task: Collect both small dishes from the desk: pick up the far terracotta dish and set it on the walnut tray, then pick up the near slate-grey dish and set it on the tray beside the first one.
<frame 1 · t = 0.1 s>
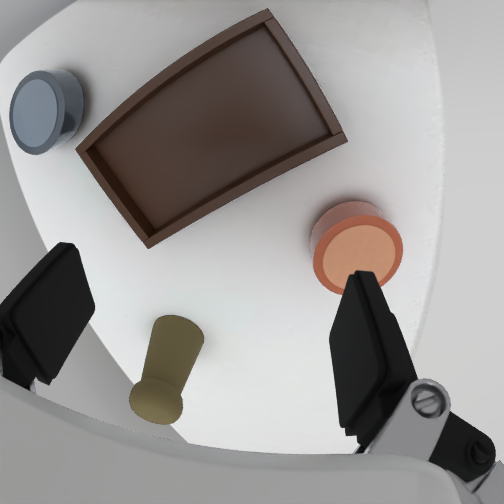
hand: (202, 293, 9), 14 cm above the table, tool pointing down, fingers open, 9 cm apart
terracotta dish: (349, 234, 24), on the table
tray: (201, 132, 20), on the table
slate dish: (61, 106, 19), on the table
pepper shaker: (178, 333, 32), on the table
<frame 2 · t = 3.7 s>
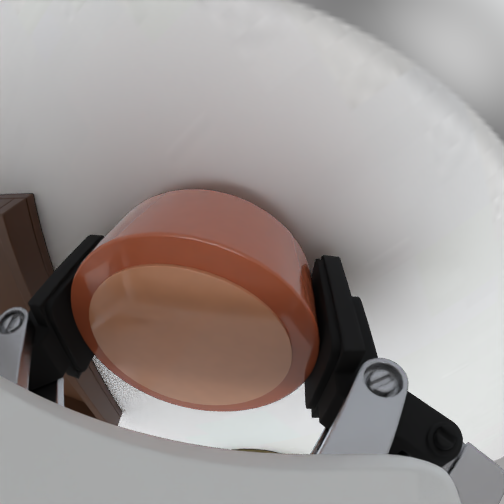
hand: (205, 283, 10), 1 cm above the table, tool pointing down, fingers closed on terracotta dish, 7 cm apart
terracotta dish: (210, 269, 11), on the table, touching gripper
tray: (23, 322, 14), on the table
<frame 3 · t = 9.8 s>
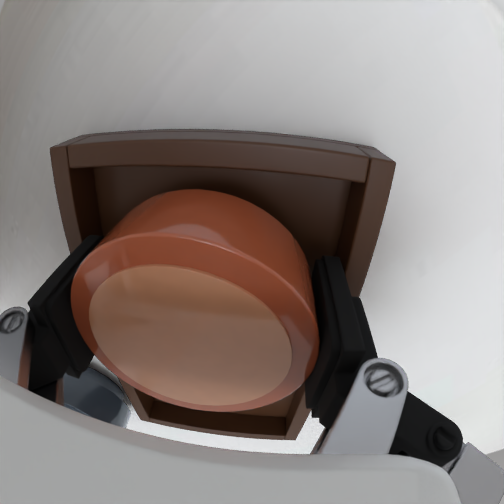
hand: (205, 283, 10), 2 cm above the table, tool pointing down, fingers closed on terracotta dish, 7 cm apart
terracotta dish: (210, 269, 11), point 1 cm above the table, touching gripper
tray: (215, 326, 13), on the table
slate dish: (94, 384, 18), on the table
when the fingers open (2 cm above the table, at t = 17.4 s): terracotta dish drops 1 cm, resting on tray.
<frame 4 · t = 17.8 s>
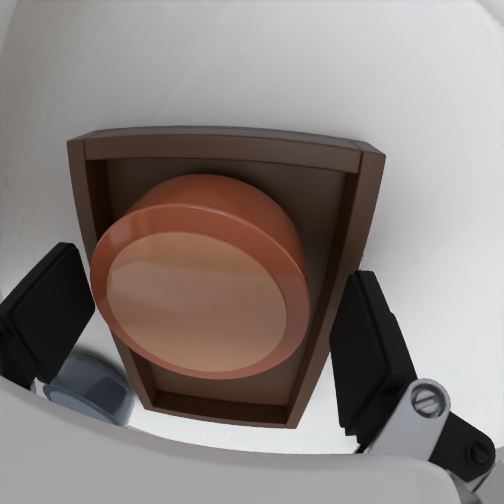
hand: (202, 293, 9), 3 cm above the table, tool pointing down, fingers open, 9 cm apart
terracotta dish: (214, 249, 12), resting on tray
tray: (219, 313, 14), on the table
slate dish: (99, 375, 19), on the table
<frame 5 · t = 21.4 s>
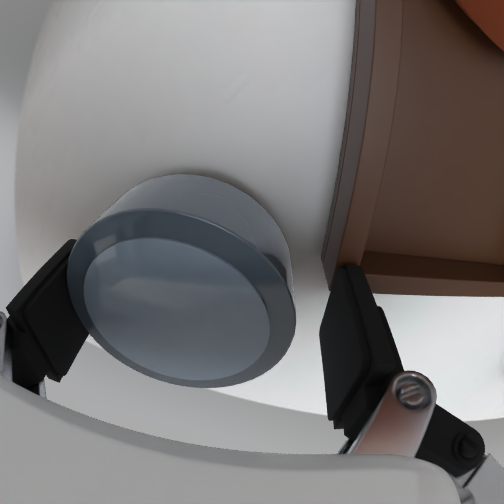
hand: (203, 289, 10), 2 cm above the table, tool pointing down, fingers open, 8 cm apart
tray: (482, 67, 6), on the table
slate dish: (197, 252, 11), on the table
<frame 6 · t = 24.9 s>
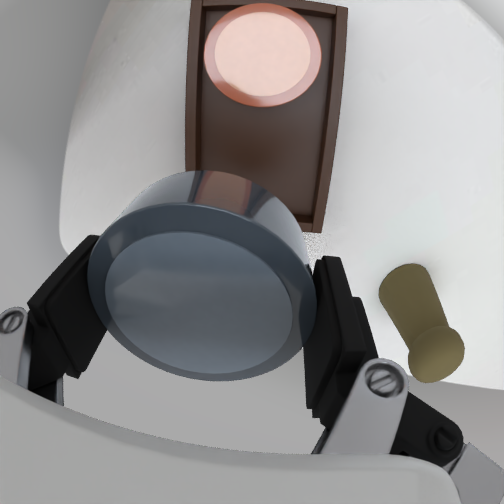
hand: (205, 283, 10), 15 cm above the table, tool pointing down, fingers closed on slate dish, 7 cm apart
terracotta dish: (264, 59, 17), resting on tray
tray: (262, 110, 20), on the table
slate dish: (213, 247, 11), point 13 cm above the table, touching gripper
pepper shaker: (404, 286, 27), on the table
when the fingers open (3 cm above the table, at t = 28.0 s): slate dish stays where it is, resting on tray.
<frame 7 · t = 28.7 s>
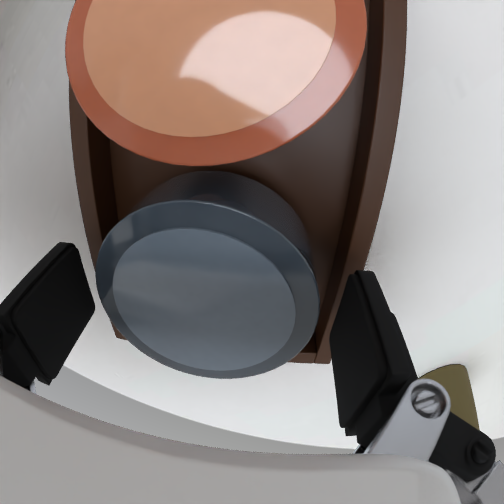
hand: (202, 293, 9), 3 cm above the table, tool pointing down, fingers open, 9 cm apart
terracotta dish: (226, 41, 8), resting on tray
tray: (226, 150, 10), on the table
slate dish: (220, 247, 12), resting on tray
pepper shaker: (433, 386, 18), on the table
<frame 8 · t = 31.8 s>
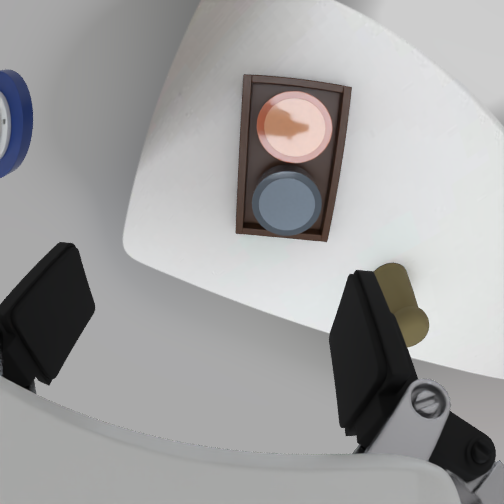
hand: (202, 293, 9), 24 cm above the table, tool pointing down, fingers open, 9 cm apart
terracotta dish: (292, 123, 28), resting on tray
tray: (289, 158, 30), on the table
slate dish: (285, 192, 32), resting on tray
pepper shaker: (387, 280, 38), on the table
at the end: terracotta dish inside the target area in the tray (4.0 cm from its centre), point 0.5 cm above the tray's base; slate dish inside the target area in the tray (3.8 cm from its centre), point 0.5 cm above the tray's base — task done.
